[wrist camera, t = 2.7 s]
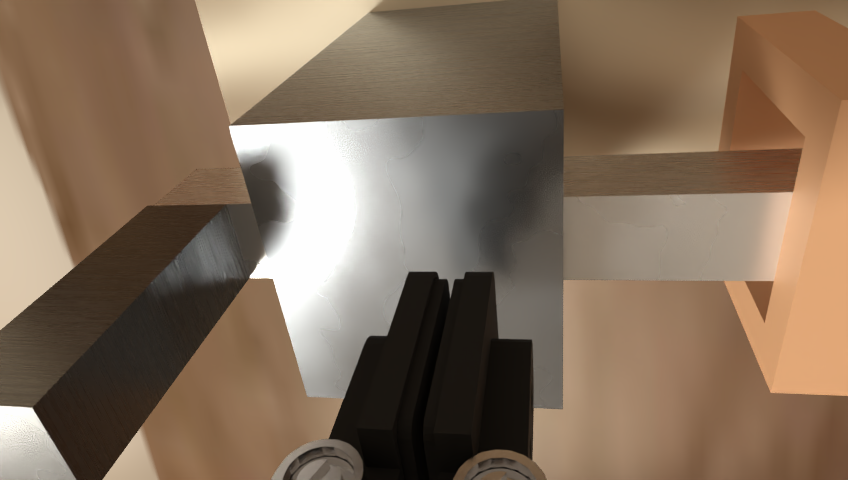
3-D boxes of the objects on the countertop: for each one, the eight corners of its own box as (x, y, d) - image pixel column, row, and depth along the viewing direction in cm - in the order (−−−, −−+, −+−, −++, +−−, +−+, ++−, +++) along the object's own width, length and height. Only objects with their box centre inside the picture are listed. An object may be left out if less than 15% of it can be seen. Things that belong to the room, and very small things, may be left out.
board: (792, 262, 26) (800, 275, 26) (280, 262, 31) (273, 272, 31) (895, -180, 18) (911, -183, 18) (184, -87, 23) (170, -85, 22)
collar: (768, 237, 21) (862, 396, 14) (706, 237, 21) (770, 392, 15) (814, 9, 17) (968, 93, 11) (737, 16, 17) (841, 100, 11)
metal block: (557, 196, 26) (562, 409, 16) (397, 199, 27) (306, 396, 17) (557, -5, 22) (563, 109, 12) (368, 12, 23) (228, 126, 13)
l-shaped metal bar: (913, 229, 16) (1297, 613, 8) (212, 235, 20) (-18, 489, 12) (943, 143, 15) (1436, 492, 6) (190, 169, 19) (-83, 400, 11)
